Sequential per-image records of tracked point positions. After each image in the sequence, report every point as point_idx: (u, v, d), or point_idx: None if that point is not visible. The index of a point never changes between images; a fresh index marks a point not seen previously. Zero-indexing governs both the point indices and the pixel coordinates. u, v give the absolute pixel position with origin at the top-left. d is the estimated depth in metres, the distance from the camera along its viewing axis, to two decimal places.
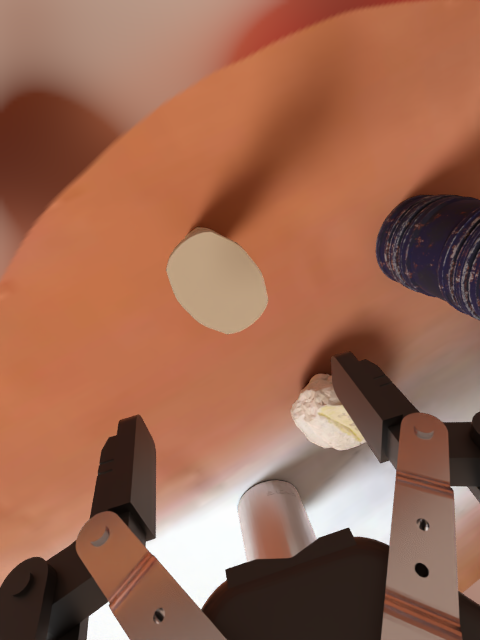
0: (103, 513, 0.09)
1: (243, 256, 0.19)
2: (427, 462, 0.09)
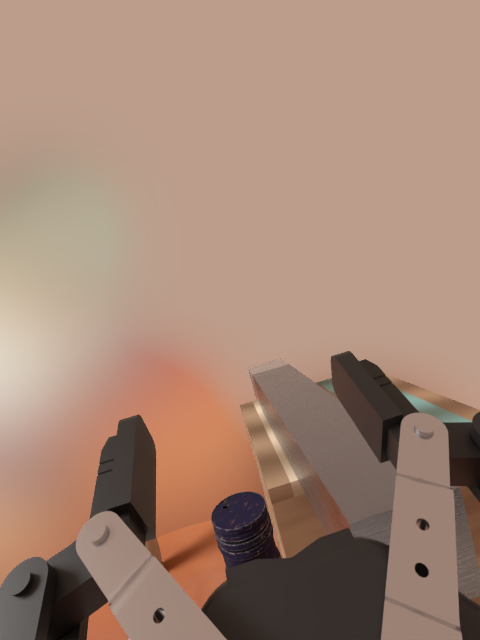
0: (103, 513, 0.09)
1: None
2: (427, 462, 0.09)
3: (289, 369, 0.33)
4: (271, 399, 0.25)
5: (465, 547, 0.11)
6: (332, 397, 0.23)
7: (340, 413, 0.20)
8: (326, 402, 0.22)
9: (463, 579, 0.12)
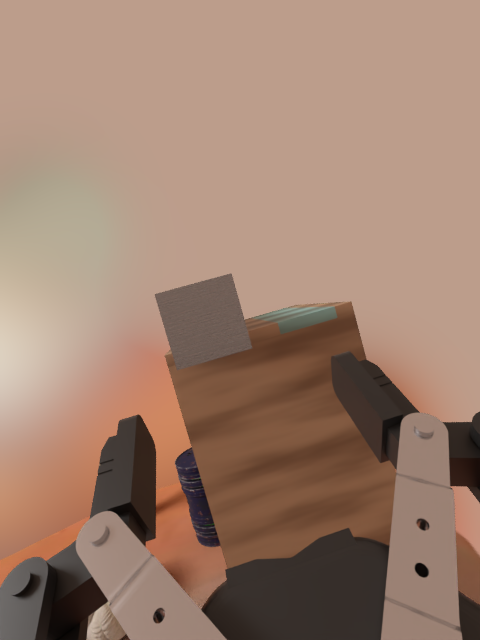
0: (103, 513, 0.09)
1: None
2: (427, 462, 0.09)
3: None
4: None
5: (237, 315, 0.17)
6: None
7: None
8: None
9: (236, 337, 0.17)
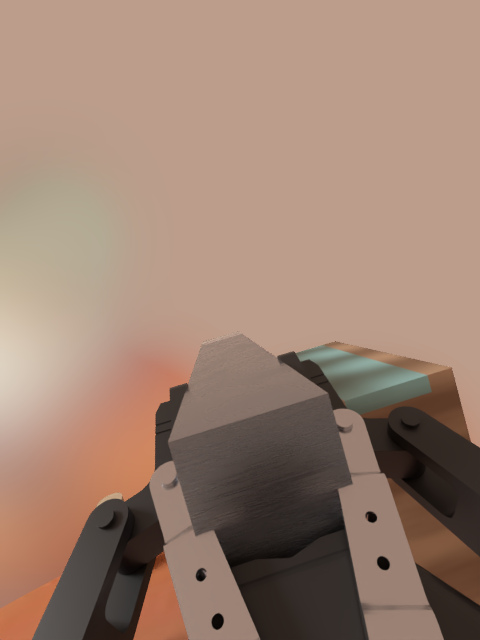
0: (170, 462, 0.10)
1: (120, 496, 0.66)
2: None
3: (238, 336, 0.30)
4: (199, 358, 0.22)
5: (339, 479, 0.08)
6: (258, 347, 0.19)
7: (254, 357, 0.16)
8: (249, 351, 0.19)
9: (337, 525, 0.08)
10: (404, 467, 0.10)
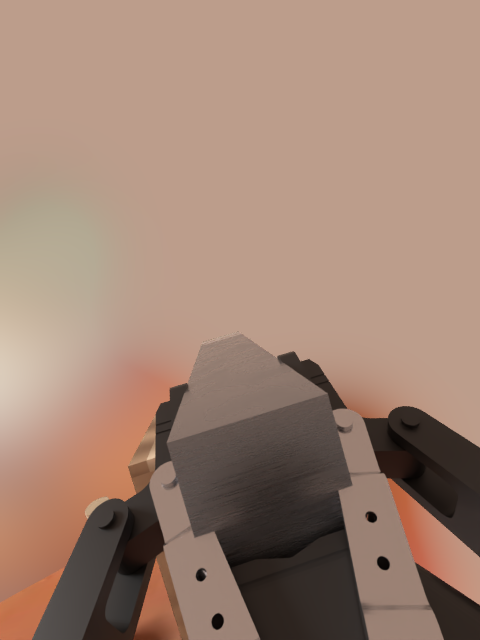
0: (170, 462, 0.10)
1: None
2: None
3: (238, 336, 0.30)
4: (199, 358, 0.22)
5: (338, 480, 0.08)
6: (258, 347, 0.19)
7: (254, 357, 0.16)
8: (249, 351, 0.19)
9: (337, 526, 0.08)
10: (404, 467, 0.10)
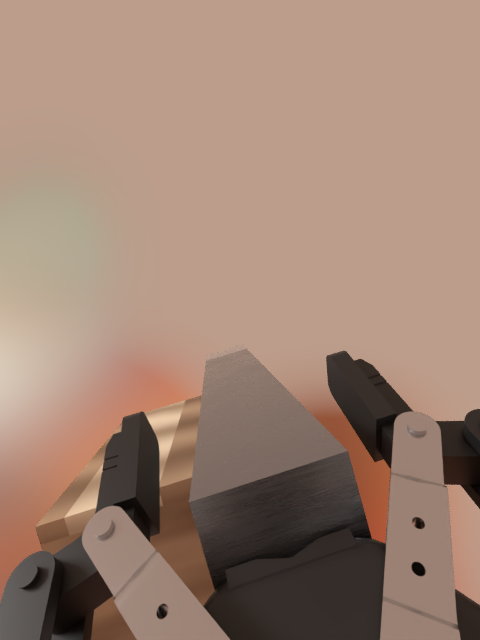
0: (109, 508, 0.10)
1: None
2: (420, 460, 0.09)
3: (243, 352, 0.30)
4: (206, 379, 0.22)
5: (358, 536, 0.08)
6: (266, 372, 0.19)
7: (263, 385, 0.17)
8: (258, 377, 0.19)
9: None
10: (472, 470, 0.10)
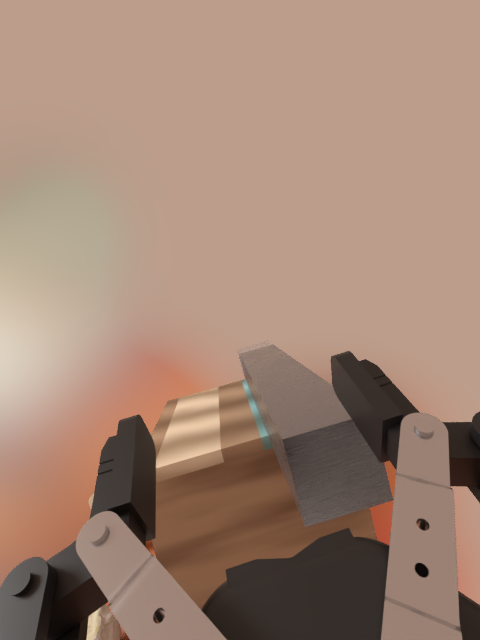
0: (103, 513, 0.09)
1: None
2: (427, 462, 0.09)
3: (272, 348, 0.36)
4: (250, 370, 0.28)
5: (376, 461, 0.14)
6: (300, 365, 0.25)
7: (302, 375, 0.23)
8: (294, 369, 0.25)
9: (375, 487, 0.14)
10: (479, 471, 0.10)
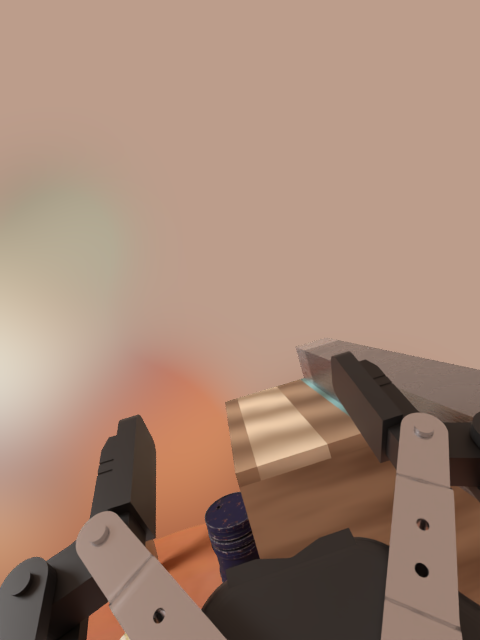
0: (103, 513, 0.09)
1: None
2: (427, 462, 0.09)
3: (342, 343, 0.35)
4: None
5: None
6: (402, 354, 0.24)
7: (419, 362, 0.21)
8: (399, 358, 0.24)
9: None
10: (479, 471, 0.10)
